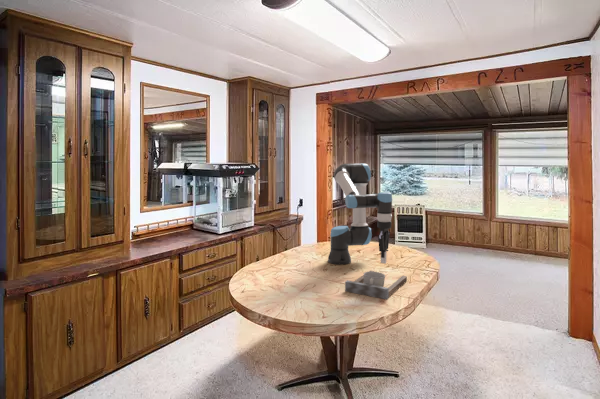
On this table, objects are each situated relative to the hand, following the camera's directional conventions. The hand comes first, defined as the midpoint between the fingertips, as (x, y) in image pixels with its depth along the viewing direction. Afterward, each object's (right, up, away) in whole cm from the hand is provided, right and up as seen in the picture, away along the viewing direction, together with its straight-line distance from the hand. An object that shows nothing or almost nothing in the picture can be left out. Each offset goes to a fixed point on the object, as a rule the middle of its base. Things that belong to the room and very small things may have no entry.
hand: (383, 262), depth 202 cm
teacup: (-8, -12, -13) cm, 20 cm away
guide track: (-5, -11, -7) cm, 14 cm away
